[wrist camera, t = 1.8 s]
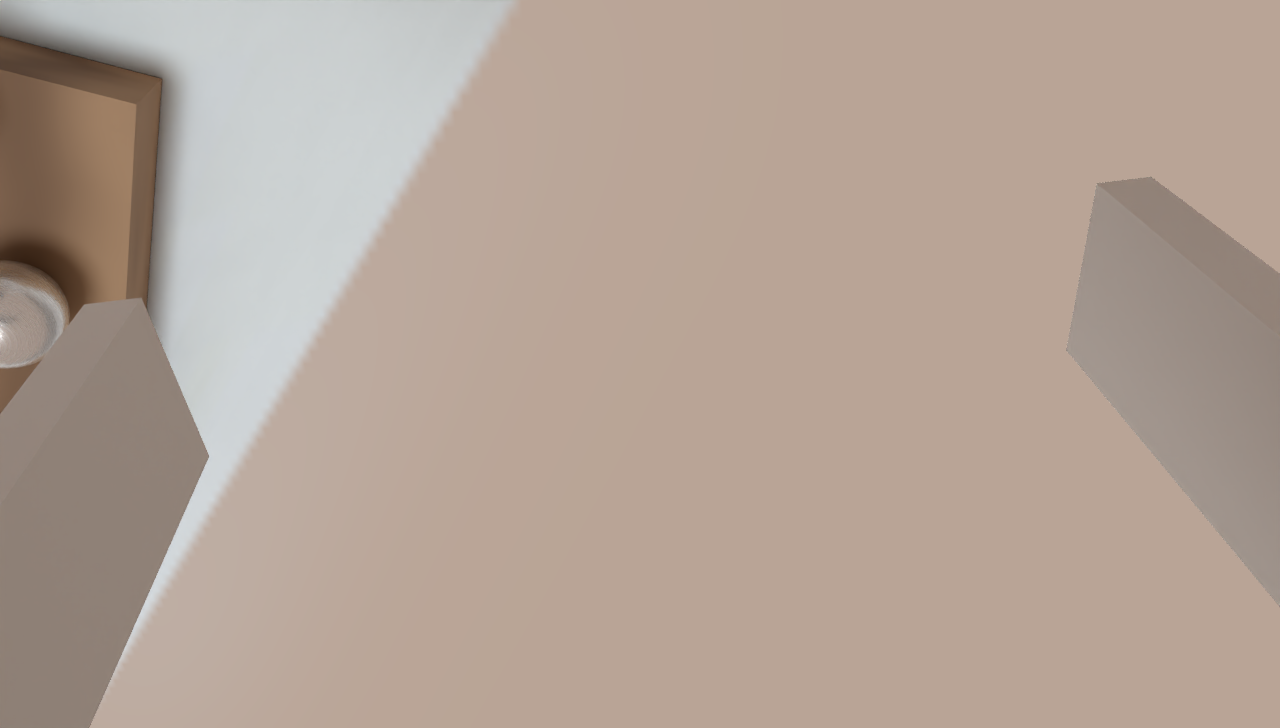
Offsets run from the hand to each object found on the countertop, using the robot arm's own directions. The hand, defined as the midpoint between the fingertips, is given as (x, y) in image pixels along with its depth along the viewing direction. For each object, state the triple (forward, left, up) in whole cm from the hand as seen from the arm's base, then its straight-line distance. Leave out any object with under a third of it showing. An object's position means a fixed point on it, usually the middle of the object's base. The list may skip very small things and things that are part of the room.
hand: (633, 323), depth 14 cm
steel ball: (-15, -14, -17) cm, 27 cm away
